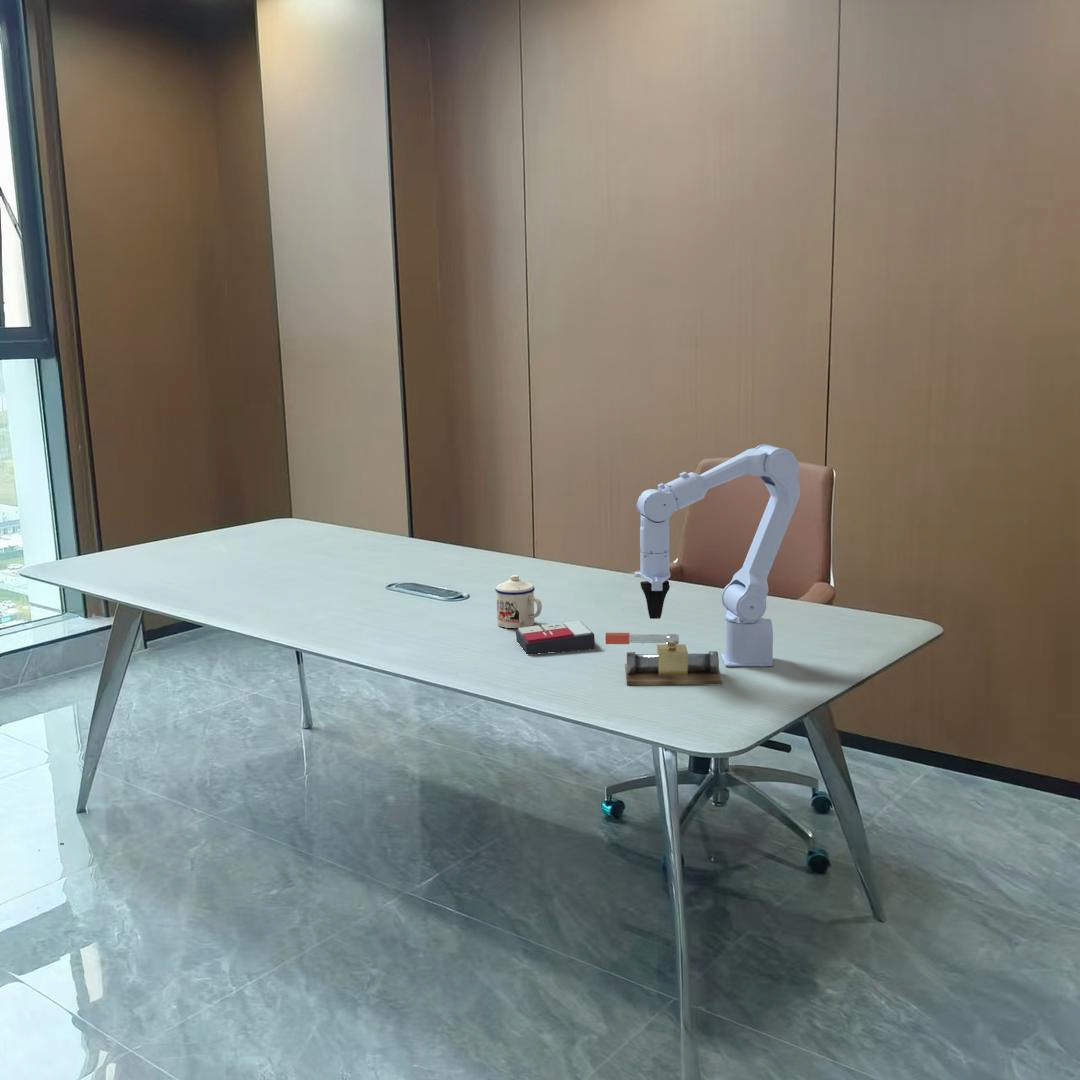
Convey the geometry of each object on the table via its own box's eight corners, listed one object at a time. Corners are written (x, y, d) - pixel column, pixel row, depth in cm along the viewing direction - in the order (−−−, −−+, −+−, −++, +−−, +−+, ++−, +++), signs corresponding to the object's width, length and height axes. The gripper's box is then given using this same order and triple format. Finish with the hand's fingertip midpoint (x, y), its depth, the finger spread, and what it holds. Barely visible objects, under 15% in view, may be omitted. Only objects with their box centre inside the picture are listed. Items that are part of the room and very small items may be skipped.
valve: (715, 669, 211) (716, 640, 210) (718, 677, 206) (719, 648, 205) (626, 670, 212) (626, 641, 211) (627, 678, 207) (627, 649, 206)
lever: (678, 645, 207) (678, 636, 206) (605, 644, 208) (605, 635, 208) (678, 641, 209) (678, 632, 209) (606, 640, 211) (606, 632, 210)
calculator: (515, 626, 235) (580, 617, 238) (516, 645, 236) (582, 636, 239) (525, 640, 224) (594, 630, 227) (527, 659, 225) (595, 650, 228)
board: (715, 666, 214) (715, 662, 214) (721, 684, 203) (721, 680, 203) (625, 667, 215) (624, 663, 215) (627, 685, 204) (626, 681, 204)
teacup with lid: (488, 626, 248) (486, 577, 246) (513, 617, 255) (511, 569, 253) (529, 633, 241) (528, 583, 239) (553, 624, 248) (552, 575, 246)
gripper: (632, 543, 217) (633, 608, 220) (635, 558, 203) (636, 627, 205) (667, 543, 217) (667, 608, 219) (673, 558, 202) (673, 627, 205)
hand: (654, 617), depth 212 cm, fingers closed
